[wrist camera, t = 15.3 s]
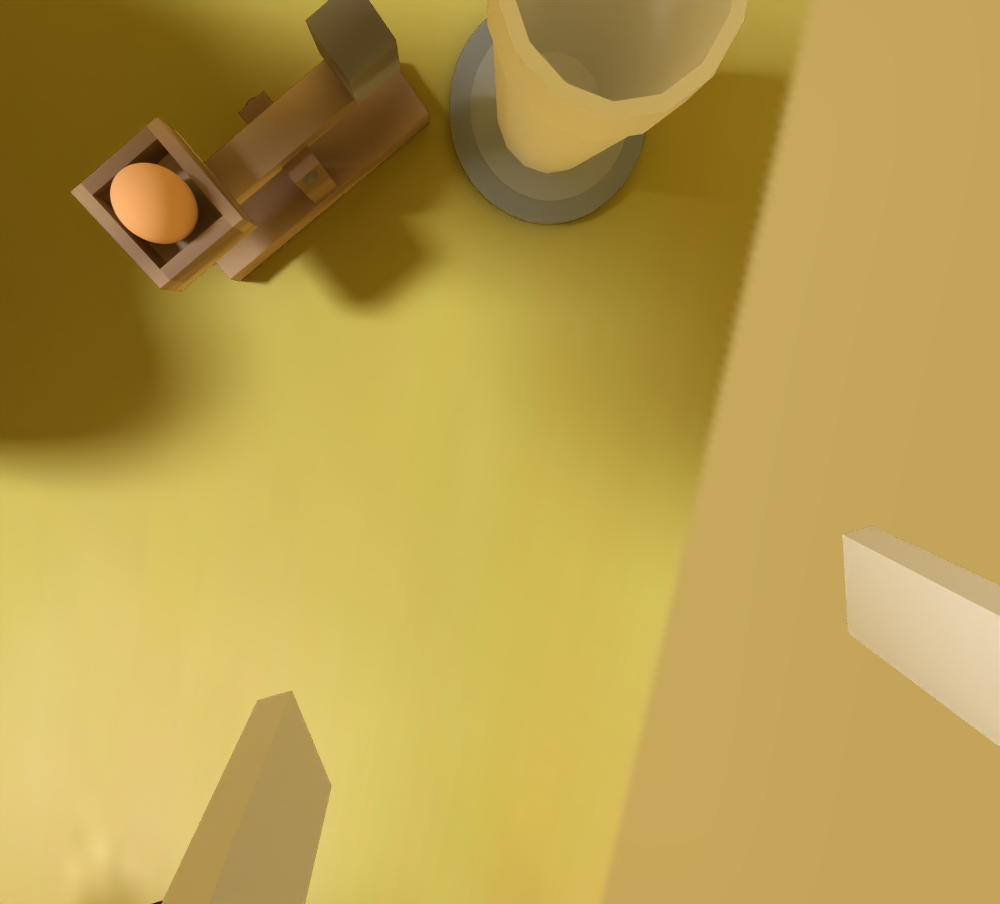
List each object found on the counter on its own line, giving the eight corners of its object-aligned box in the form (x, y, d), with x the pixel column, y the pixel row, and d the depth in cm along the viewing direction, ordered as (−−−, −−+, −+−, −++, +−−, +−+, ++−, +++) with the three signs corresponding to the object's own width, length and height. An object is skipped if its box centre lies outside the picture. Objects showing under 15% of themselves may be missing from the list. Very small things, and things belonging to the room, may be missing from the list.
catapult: (171, 228, 30) (60, 188, 22) (379, 50, 29) (352, -68, 21) (233, 298, 32) (152, 287, 23) (434, 130, 31) (432, 50, 22)
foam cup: (573, -15, 29) (673, -274, 16) (654, 138, 31) (796, 13, 19) (438, 90, 29) (436, -84, 17) (529, 232, 32) (585, 172, 19)
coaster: (407, 91, 30) (406, 84, 29) (569, -46, 29) (573, -57, 29) (528, 264, 33) (530, 262, 32) (677, 144, 32) (684, 139, 32)
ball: (121, 204, 24) (74, 186, 21) (173, 159, 23) (133, 134, 20) (174, 262, 24) (136, 253, 21) (225, 220, 24) (194, 204, 21)
